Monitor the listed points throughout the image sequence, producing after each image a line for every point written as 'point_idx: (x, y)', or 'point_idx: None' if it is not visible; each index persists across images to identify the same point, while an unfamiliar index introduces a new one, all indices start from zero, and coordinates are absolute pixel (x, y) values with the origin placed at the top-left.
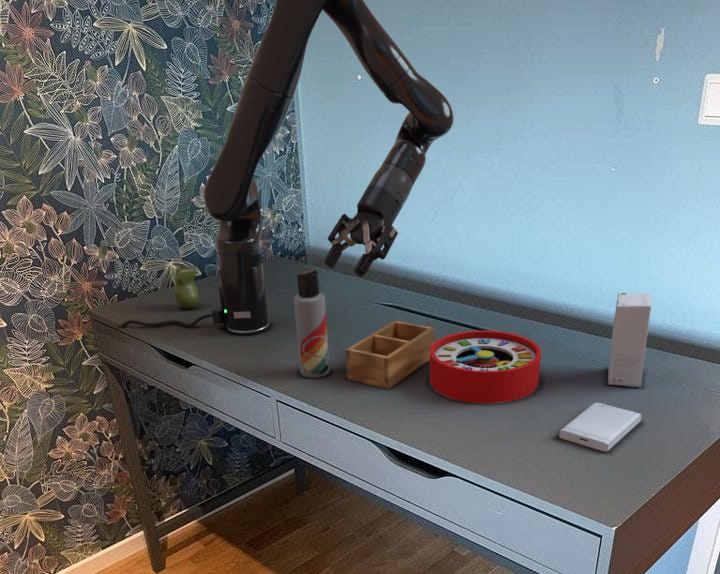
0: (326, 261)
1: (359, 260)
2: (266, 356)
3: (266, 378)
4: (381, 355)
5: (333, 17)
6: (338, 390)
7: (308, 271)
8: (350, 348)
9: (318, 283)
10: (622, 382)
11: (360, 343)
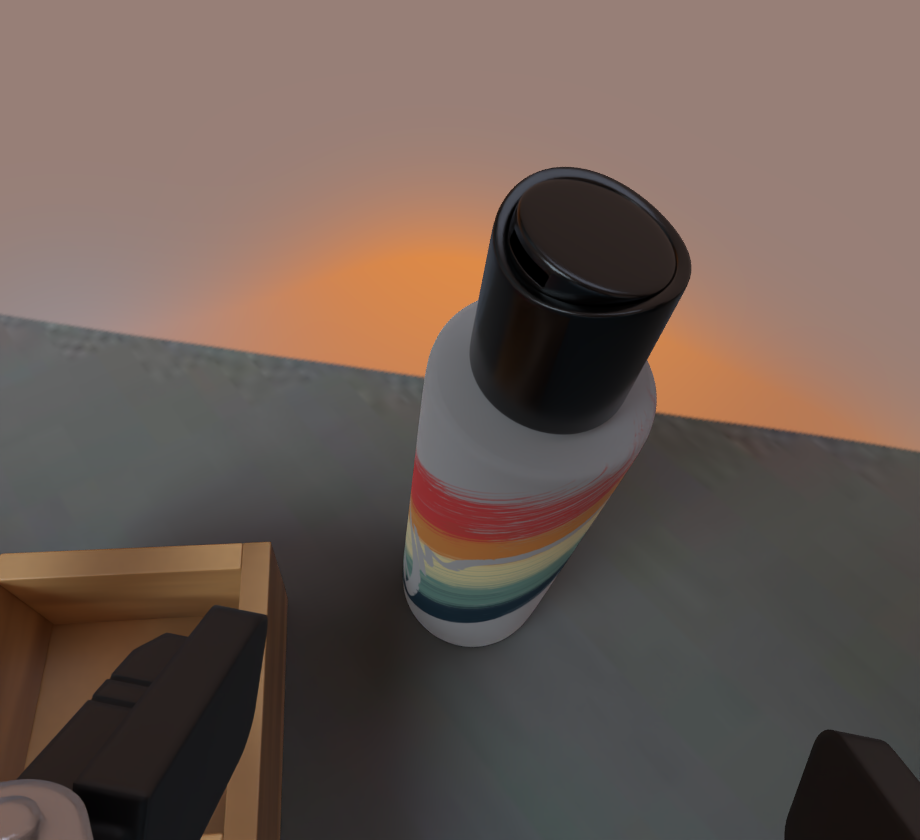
0: (843, 734)
1: (205, 699)
2: (788, 608)
3: None
4: (25, 570)
5: None
6: (261, 489)
7: (575, 223)
8: (253, 565)
9: (494, 344)
10: None
11: None
